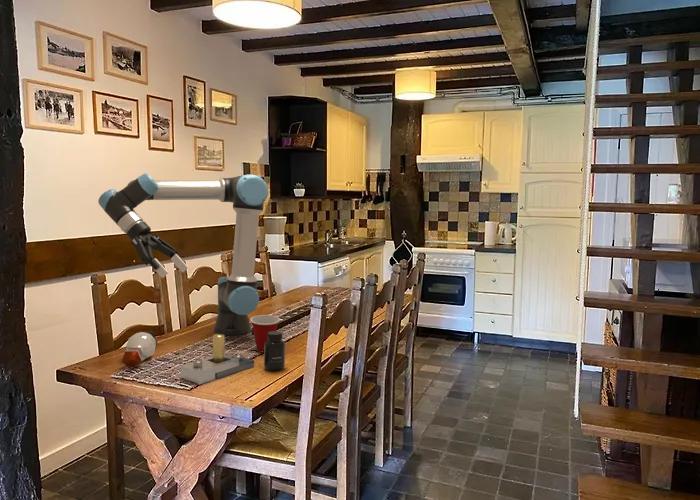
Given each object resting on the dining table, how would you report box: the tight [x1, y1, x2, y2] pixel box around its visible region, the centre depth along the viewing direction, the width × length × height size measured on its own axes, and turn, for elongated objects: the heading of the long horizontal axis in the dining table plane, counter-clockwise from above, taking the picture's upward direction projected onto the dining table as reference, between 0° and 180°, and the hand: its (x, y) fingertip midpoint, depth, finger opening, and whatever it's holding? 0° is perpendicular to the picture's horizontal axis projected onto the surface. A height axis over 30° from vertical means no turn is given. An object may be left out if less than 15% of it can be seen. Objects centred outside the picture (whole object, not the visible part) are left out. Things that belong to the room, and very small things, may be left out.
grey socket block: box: [180, 354, 239, 386], centre depth 160 cm, size 16×9×6 cm, turn 143°
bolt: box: [144, 330, 158, 345], centre depth 192 cm, size 6×5×15 cm
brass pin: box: [212, 333, 226, 364], centre depth 162 cm, size 4×4×12 cm
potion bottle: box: [121, 331, 157, 368], centre depth 171 cm, size 9×10×15 cm
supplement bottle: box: [263, 330, 286, 372], centre depth 167 cm, size 7×7×12 cm
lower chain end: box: [215, 353, 255, 380], centre depth 165 cm, size 16×9×4 cm, turn 143°
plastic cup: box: [249, 314, 281, 353], centre depth 187 cm, size 11×11×12 cm
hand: (175, 272), depth 175 cm, fingers open, 13 cm apart
